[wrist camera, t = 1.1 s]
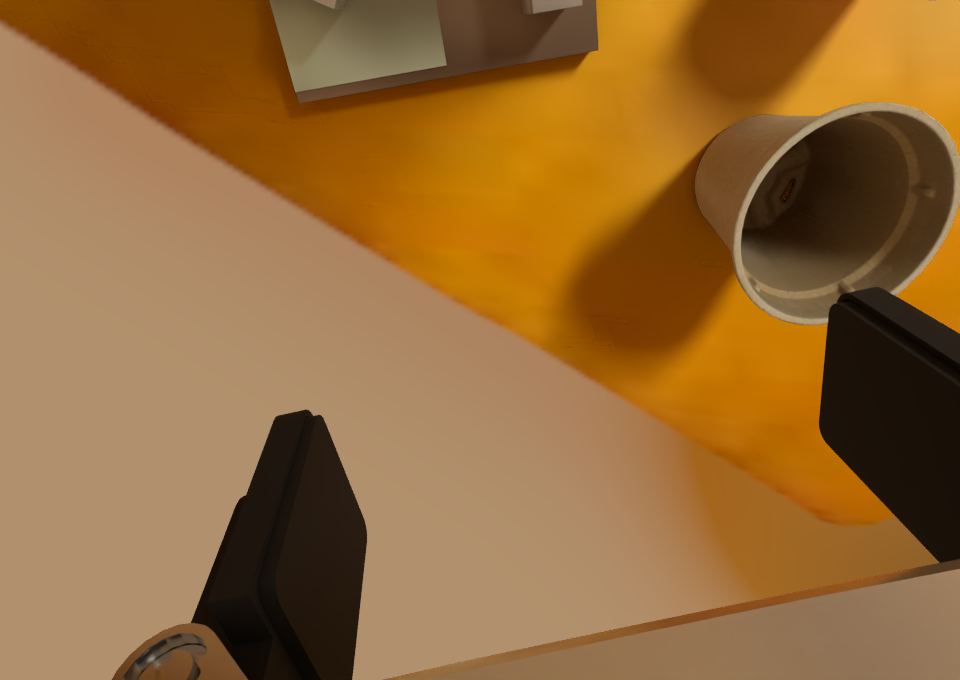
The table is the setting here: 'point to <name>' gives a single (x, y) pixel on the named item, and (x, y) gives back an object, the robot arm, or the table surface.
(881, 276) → the flower pot
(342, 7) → the jaw
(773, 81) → the table surface
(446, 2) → the board
